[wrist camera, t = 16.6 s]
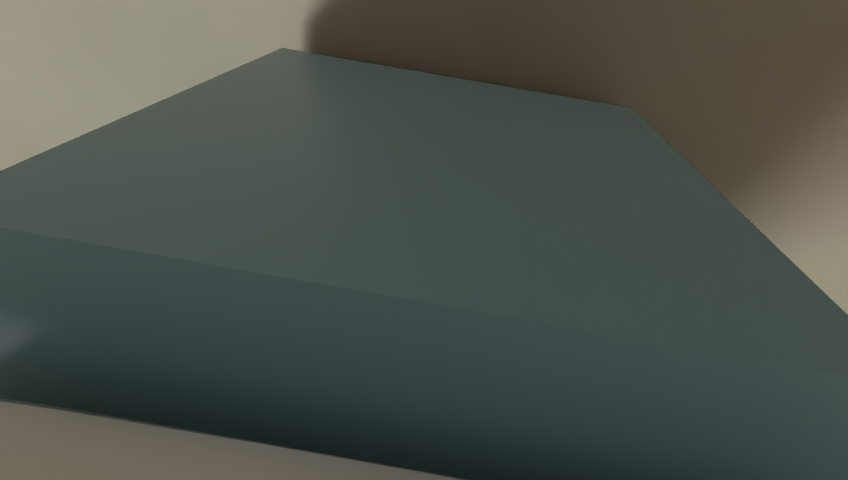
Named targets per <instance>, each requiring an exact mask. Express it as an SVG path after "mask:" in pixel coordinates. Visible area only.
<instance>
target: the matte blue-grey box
mask: <svg viewBox="0 0 848 480" xmlns="http://www.w3.org/2000/svg"><path fill="white" fill-rule="evenodd" d="M0 398H4V399H11V400H18V401H25V402H32V403H39V404H45V405H51V406H56V407H62V408H68V409H74V410H79V411H85V412H91V413H97V414H102V415H108V416H114V417H120V418H125V419H131V420H137V421H143V422H148V423H154V424H160V425H165V426H171V427H177V428H183V429H188V430H194V431H200V432H206V433H211V434H217V435H223V436H228V437H234V438H240V439H246V440H251V441H257V442H263V443H268V444H274V445H280V446H285V447H291V448H296V449H302V450H308V451H313V452H319V453H324V454H330V455H336V456H341V457H347V458H352V459H358V460H364V461H369V462H375V463H380V464H386V465H391V466H397V467H403V468H408V469H414V470H419V471H425V472H430V473H436V474H441V475H447V476H452V477H458V478H463V479H469V480H848V315H847V314H846V313H845V312H844V311H843V310H842V309H841V308H840V307H839V306H838V305H837V304H836V303H835V302H834V301H833V300H832V299H830V298H829V297H828V296H827V295H826V294H825V293H824V292H823V291H822V290H821V289H820V288H819V287H818V286H817V285H816V284H815V283H814V282H813V281H812V280H811V279H810V278H809V277H807V276H806V275H805V274H804V273H803V272H802V271H801V270H800V269H799V268H798V267H797V266H796V265H795V264H794V263H793V262H792V261H791V260H790V259H789V258H788V257H787V256H786V255H785V254H783V253H782V252H781V251H780V250H779V249H778V248H777V247H776V246H775V245H774V244H773V243H772V242H771V241H770V240H769V239H768V238H767V237H766V236H765V235H764V234H763V233H762V232H761V231H759V230H758V229H757V228H756V227H755V226H754V225H753V224H752V223H751V222H750V221H749V220H748V219H747V218H746V217H745V216H744V215H743V214H742V213H741V212H740V211H739V210H738V209H736V208H735V207H734V206H733V205H732V204H731V203H730V202H729V201H728V200H727V199H726V198H725V197H724V196H723V195H722V194H721V193H720V192H719V191H718V190H717V189H716V188H715V187H714V186H712V185H711V184H710V183H709V182H708V181H707V180H706V179H705V178H704V177H703V176H702V175H701V174H700V173H699V172H698V171H697V170H696V169H695V168H694V167H693V166H692V165H691V164H690V163H688V162H687V161H686V160H685V159H684V158H683V157H682V156H681V155H680V154H679V153H678V152H677V151H676V150H675V149H674V148H673V147H672V146H671V145H670V144H669V143H668V142H667V141H665V140H664V139H663V138H662V137H661V136H660V135H659V134H658V133H657V132H656V131H655V130H654V129H653V128H652V127H651V126H650V125H649V124H648V123H647V122H646V121H645V120H644V119H643V118H641V117H640V116H639V115H638V114H637V113H636V112H635V111H634V110H633V109H632V108H629V107H623V106H617V105H612V104H606V103H600V102H594V101H588V100H582V99H577V98H571V97H565V96H559V95H553V94H547V93H542V92H536V91H530V90H524V89H518V88H512V87H507V86H501V85H495V84H489V83H483V82H477V81H472V80H466V79H460V78H454V77H448V76H442V75H437V74H431V73H425V72H419V71H413V70H407V69H401V68H396V67H390V66H384V65H378V64H372V63H366V62H361V61H355V60H349V59H343V58H337V57H331V56H326V55H320V54H314V53H308V52H302V51H296V50H291V49H285V48H281V49H279V50H277V51H274V52H272V53H270V54H267V55H265V56H263V57H261V58H258V59H256V60H254V61H251V62H249V63H247V64H244V65H242V66H240V67H238V68H235V69H233V70H231V71H228V72H226V73H224V74H222V75H219V76H217V77H215V78H212V79H210V80H208V81H206V82H203V83H201V84H199V85H196V86H194V87H192V88H189V89H187V90H185V91H183V92H180V93H178V94H176V95H173V96H171V97H169V98H167V99H164V100H162V101H160V102H157V103H155V104H153V105H151V106H148V107H146V108H144V109H141V110H139V111H137V112H134V113H132V114H130V115H128V116H125V117H123V118H121V119H118V120H116V121H114V122H112V123H109V124H107V125H105V126H102V127H100V128H98V129H96V130H93V131H91V132H89V133H86V134H84V135H82V136H80V137H77V138H75V139H73V140H70V141H68V142H66V143H63V144H61V145H59V146H57V147H54V148H52V149H50V150H47V151H45V152H43V153H41V154H38V155H36V156H34V157H31V158H29V159H27V160H25V161H22V162H20V163H18V164H15V165H13V166H11V167H8V168H6V169H4V170H2V171H0Z"/></svg>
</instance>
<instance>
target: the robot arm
mask: <svg viewBox="0 0 848 480" xmlns="http://www.w3.org/2000/svg"><path fill="white" fill-rule="evenodd" d="M0 480H469V479H463V478H458V477H452V476H447V475H441V474H436V473H430V472H425V471H419V470H414V469H408V468H403V467H397V466H391V465H386V464H380V463H375V462H369V461H364V460H358V459H352V458H347V457H341V456H336V455H330V454H324V453H319V452H313V451H308V450H302V449H296V448H291V447H285V446H280V445H274V444H268V443H263V442H257V441H251V440H246V439H240V438H234V437H228V436H223V435H217V434H211V433H206V432H200V431H194V430H188V429H183V428H177V427H171V426H165V425H160V424H154V423H148V422H143V421H137V420H131V419H125V418H120V417H114V416H108V415H102V414H97V413H91V412H85V411H79V410H74V409H68V408H62V407H56V406H51V405H45V404H39V403H32V402H25V401H18V400H11V399H4V398H0Z"/></svg>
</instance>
